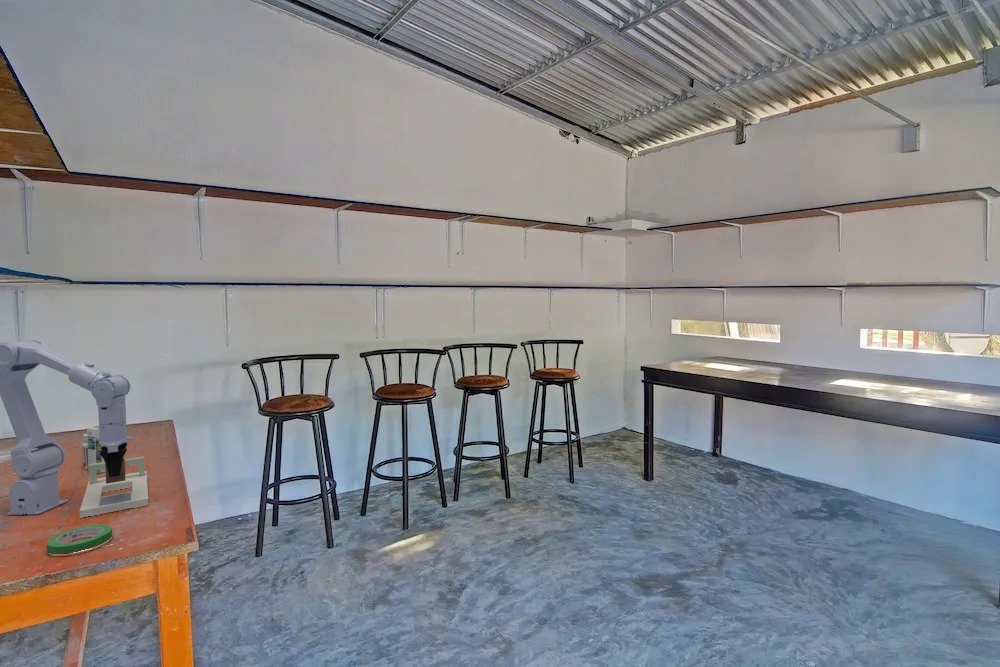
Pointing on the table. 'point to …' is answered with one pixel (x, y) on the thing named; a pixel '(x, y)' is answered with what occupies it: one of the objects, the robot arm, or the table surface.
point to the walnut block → (116, 478)
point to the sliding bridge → (127, 462)
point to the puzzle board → (110, 503)
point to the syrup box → (94, 447)
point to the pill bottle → (85, 451)
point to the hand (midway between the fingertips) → (114, 473)
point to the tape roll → (59, 547)
